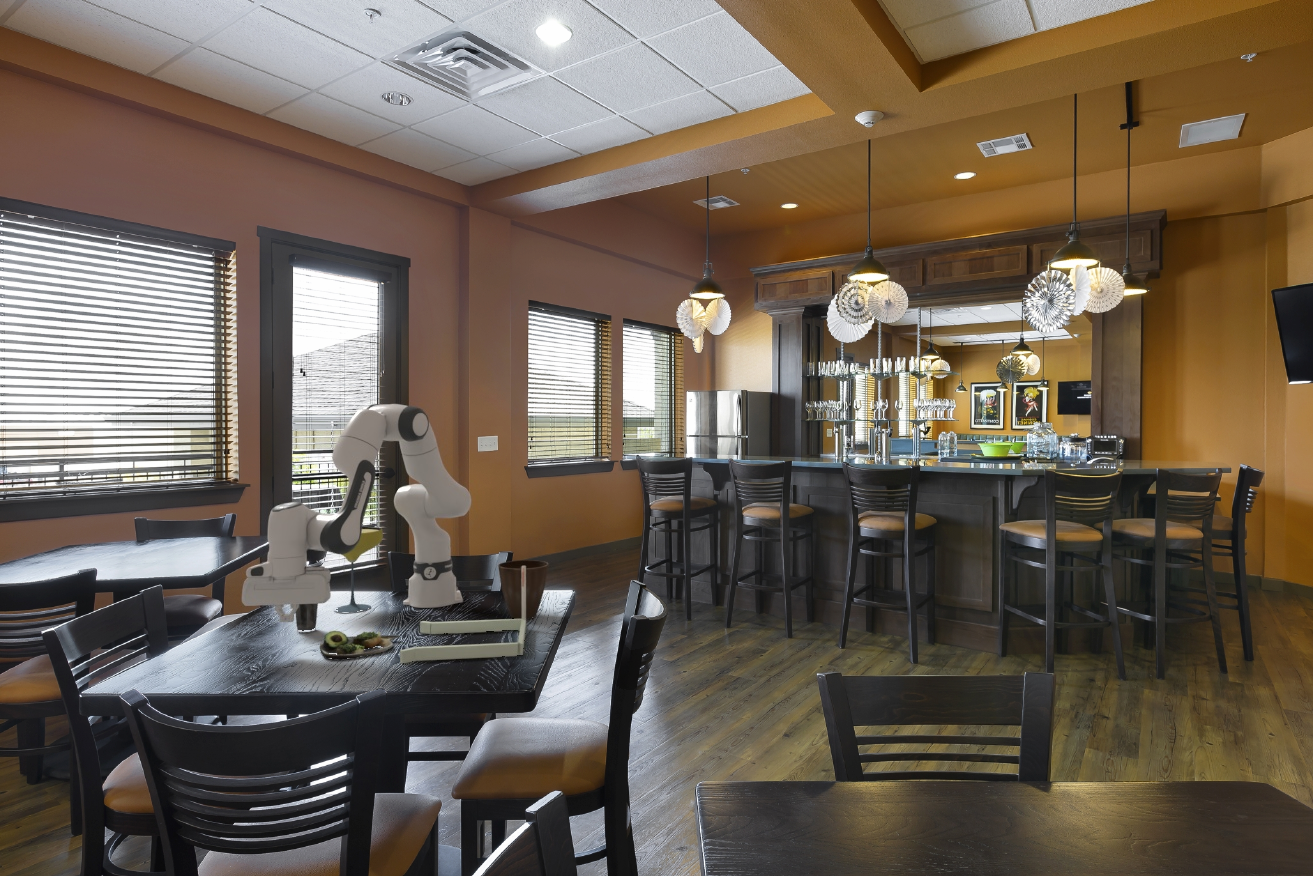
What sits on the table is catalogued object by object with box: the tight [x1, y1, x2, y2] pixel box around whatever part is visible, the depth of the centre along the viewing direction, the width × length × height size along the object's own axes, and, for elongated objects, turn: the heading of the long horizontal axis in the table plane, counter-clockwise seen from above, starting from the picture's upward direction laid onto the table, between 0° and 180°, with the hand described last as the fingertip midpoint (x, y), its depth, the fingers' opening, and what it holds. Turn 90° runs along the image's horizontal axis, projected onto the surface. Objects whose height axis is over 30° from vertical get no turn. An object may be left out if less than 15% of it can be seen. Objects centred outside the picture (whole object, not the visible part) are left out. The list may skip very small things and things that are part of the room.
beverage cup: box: [294, 604, 319, 631], centre depth 199 cm, size 7×7×20 cm
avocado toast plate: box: [319, 630, 400, 660], centre depth 183 cm, size 19×18×5 cm
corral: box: [399, 566, 527, 664], centre depth 186 cm, size 28×29×18 cm
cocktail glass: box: [336, 526, 384, 613], centre depth 223 cm, size 18×18×25 cm
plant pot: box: [497, 559, 549, 620], centre depth 213 cm, size 15×15×16 cm
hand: (286, 621), depth 179 cm, fingers closed
